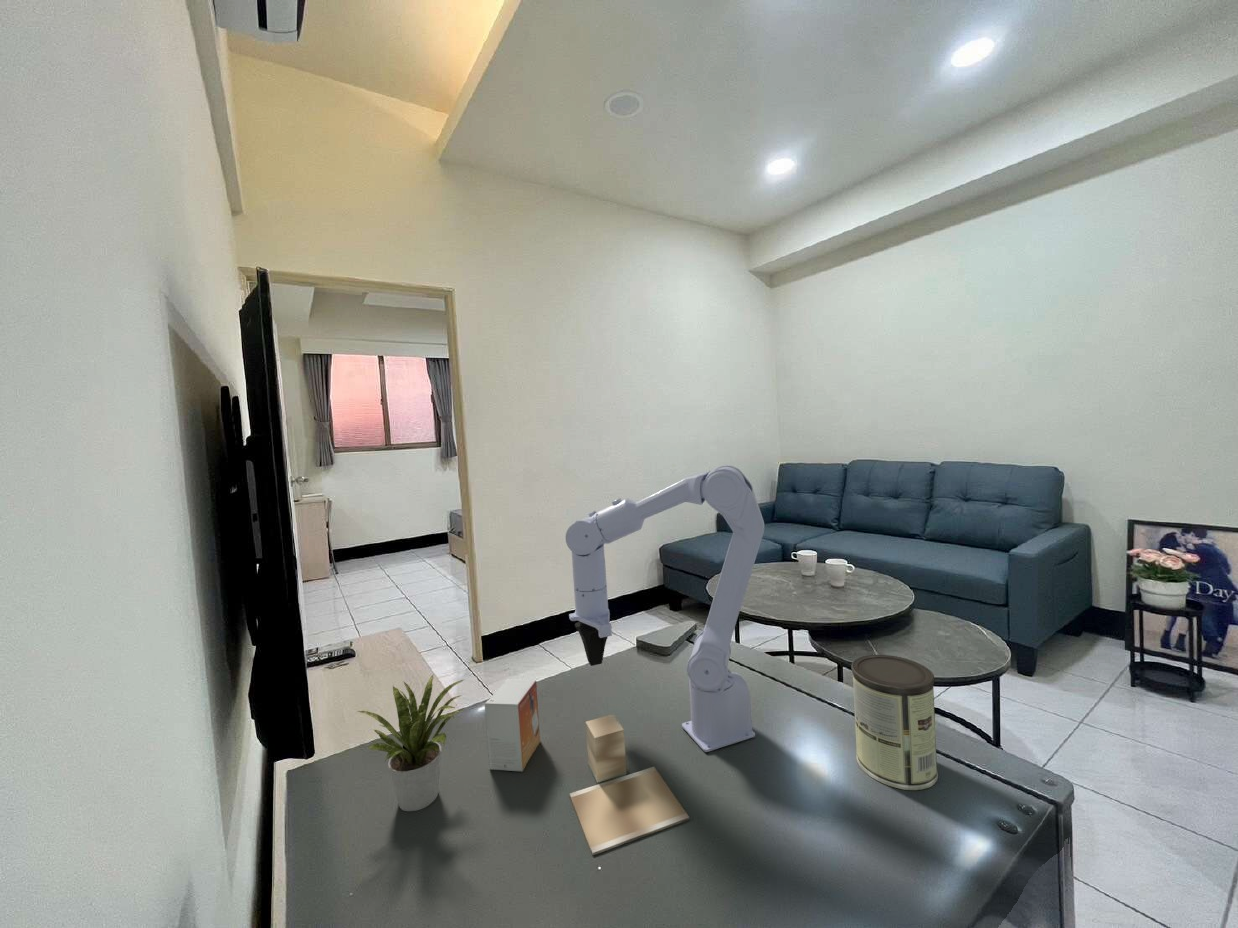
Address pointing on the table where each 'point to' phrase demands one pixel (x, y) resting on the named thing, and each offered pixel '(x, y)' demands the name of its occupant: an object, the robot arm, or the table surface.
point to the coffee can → (895, 721)
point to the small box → (512, 725)
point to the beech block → (606, 749)
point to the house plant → (415, 747)
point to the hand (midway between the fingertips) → (595, 663)
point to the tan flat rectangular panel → (626, 809)
